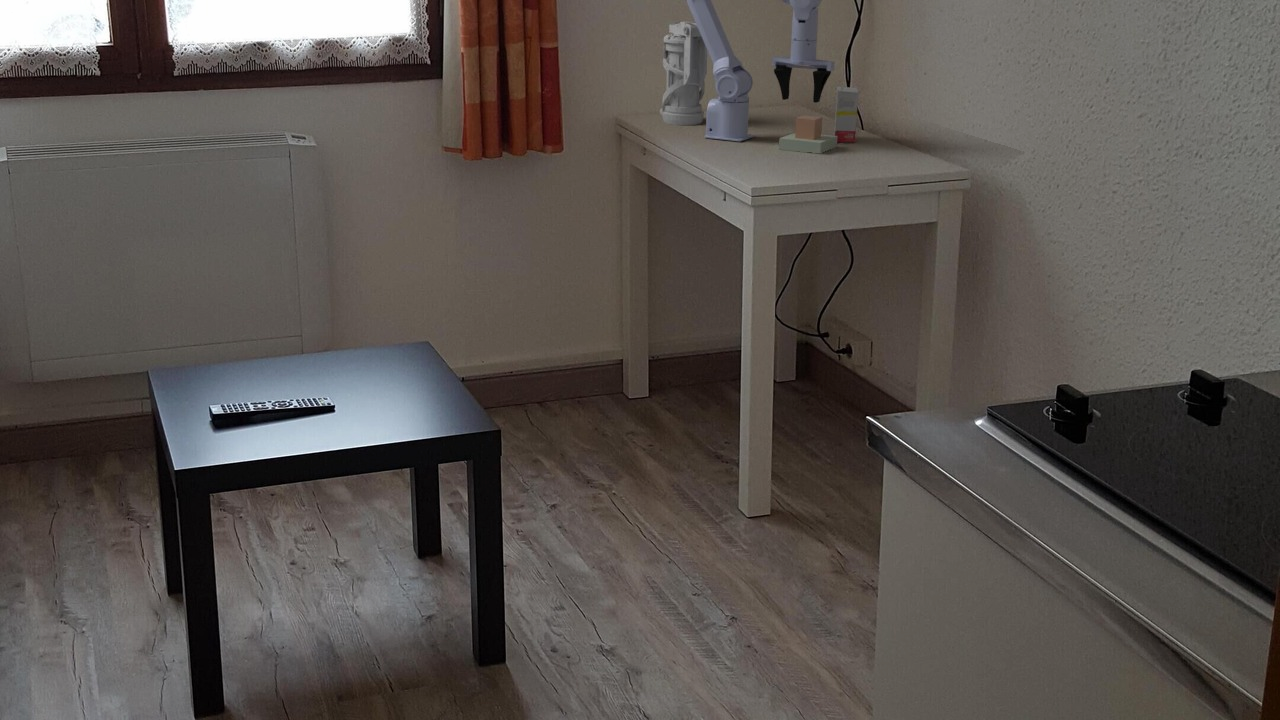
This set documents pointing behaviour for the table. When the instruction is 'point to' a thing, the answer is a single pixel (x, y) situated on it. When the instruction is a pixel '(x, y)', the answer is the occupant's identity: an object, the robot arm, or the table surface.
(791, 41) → the robot arm
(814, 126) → the terracotta cube
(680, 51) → the lantern
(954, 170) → the table surface
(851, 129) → the ink box
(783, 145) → the sage slab
